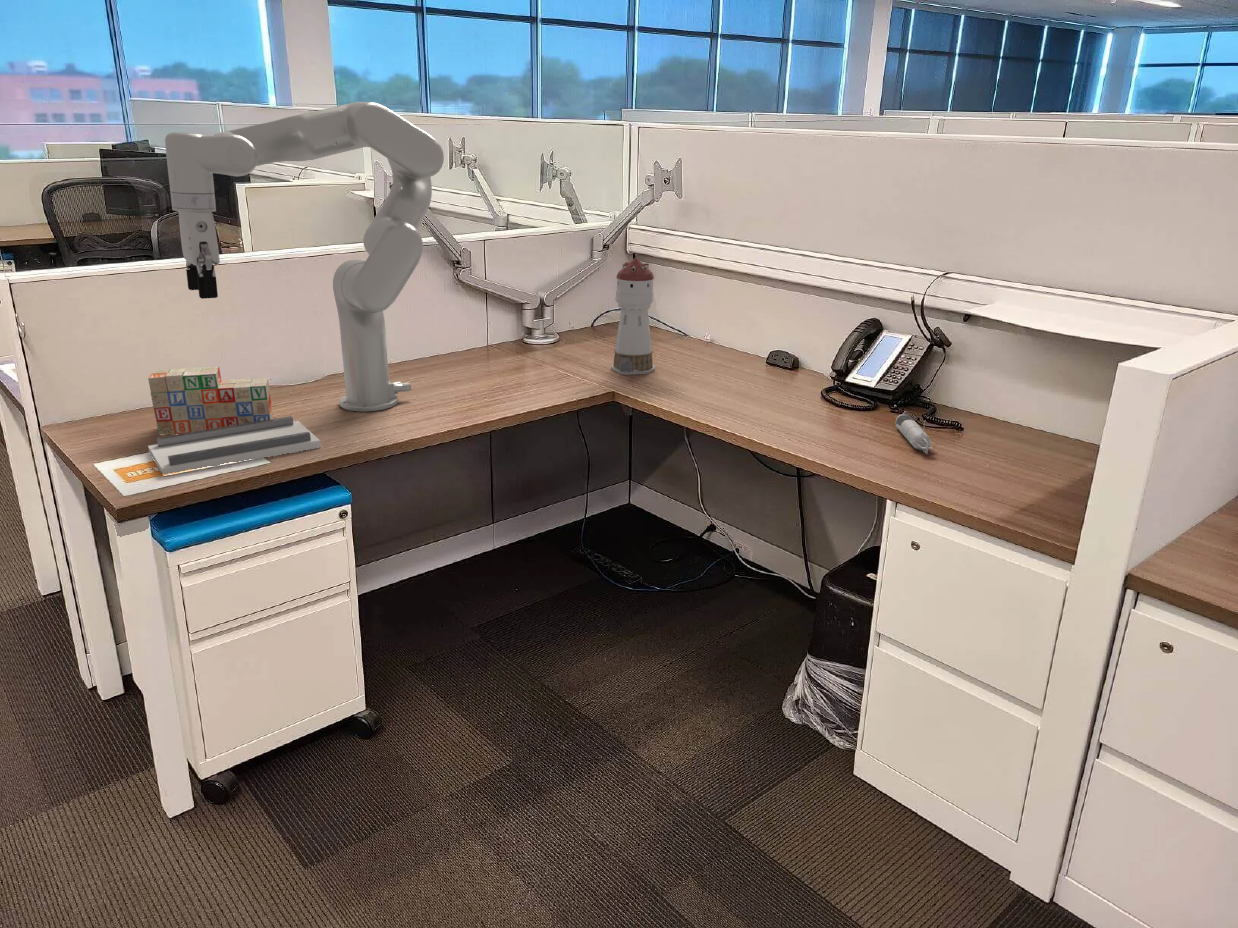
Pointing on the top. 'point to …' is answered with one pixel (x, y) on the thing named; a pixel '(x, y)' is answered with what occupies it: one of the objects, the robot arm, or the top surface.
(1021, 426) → the top surface
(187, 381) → the stack of blocks
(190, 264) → the robot arm
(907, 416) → the torpedo
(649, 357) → the miniature model
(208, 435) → the base board
